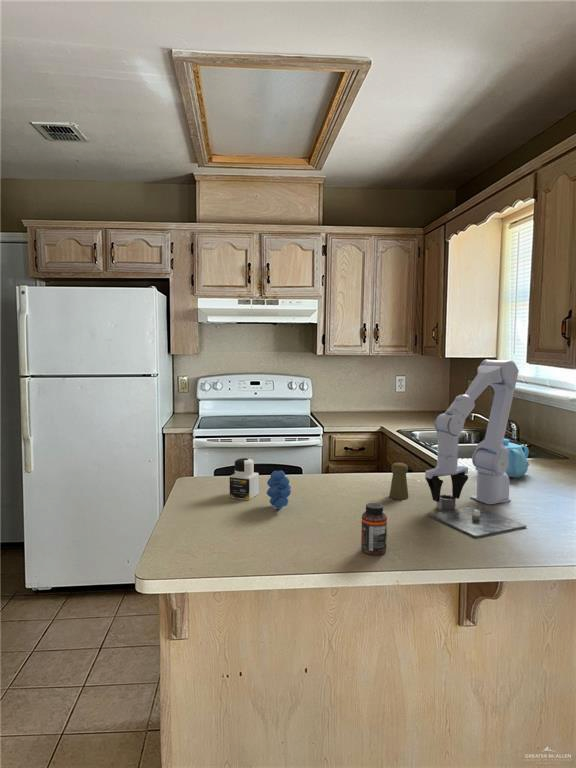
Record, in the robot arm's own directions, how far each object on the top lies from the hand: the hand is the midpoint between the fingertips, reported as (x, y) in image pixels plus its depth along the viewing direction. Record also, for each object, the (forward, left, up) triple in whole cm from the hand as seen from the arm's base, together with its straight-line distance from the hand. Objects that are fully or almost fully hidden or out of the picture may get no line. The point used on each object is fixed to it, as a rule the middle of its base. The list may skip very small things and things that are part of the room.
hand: (446, 499), depth 152 cm
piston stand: (0, +12, -3) cm, 12 cm away
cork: (+6, -15, -3) cm, 16 cm away
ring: (0, 0, -3) cm, 3 cm away
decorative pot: (-46, -21, -3) cm, 51 cm away
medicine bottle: (+51, -36, -3) cm, 62 cm away
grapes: (+45, -20, -3) cm, 49 cm away
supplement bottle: (+37, +17, -3) cm, 41 cm away
